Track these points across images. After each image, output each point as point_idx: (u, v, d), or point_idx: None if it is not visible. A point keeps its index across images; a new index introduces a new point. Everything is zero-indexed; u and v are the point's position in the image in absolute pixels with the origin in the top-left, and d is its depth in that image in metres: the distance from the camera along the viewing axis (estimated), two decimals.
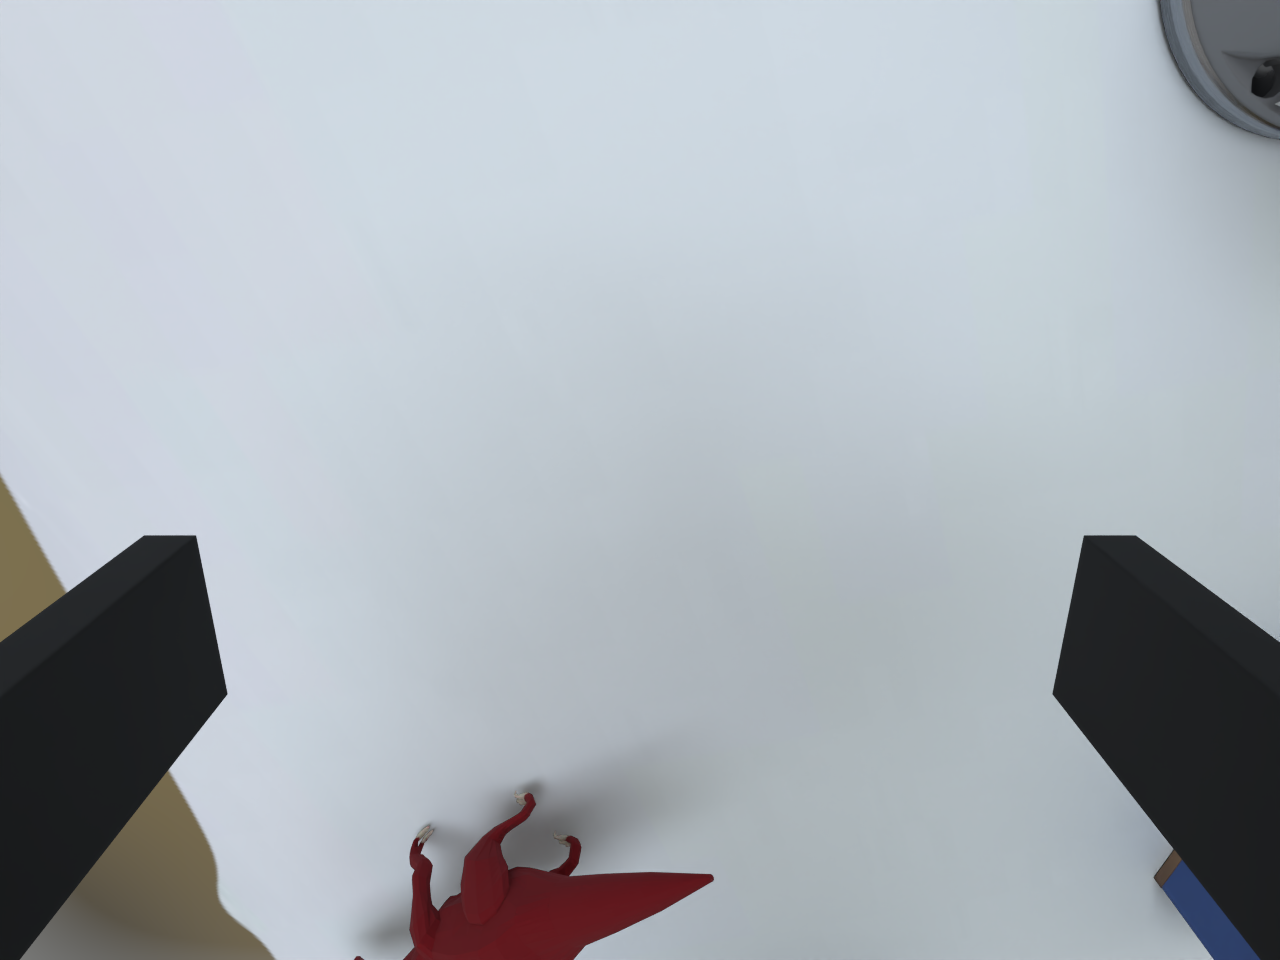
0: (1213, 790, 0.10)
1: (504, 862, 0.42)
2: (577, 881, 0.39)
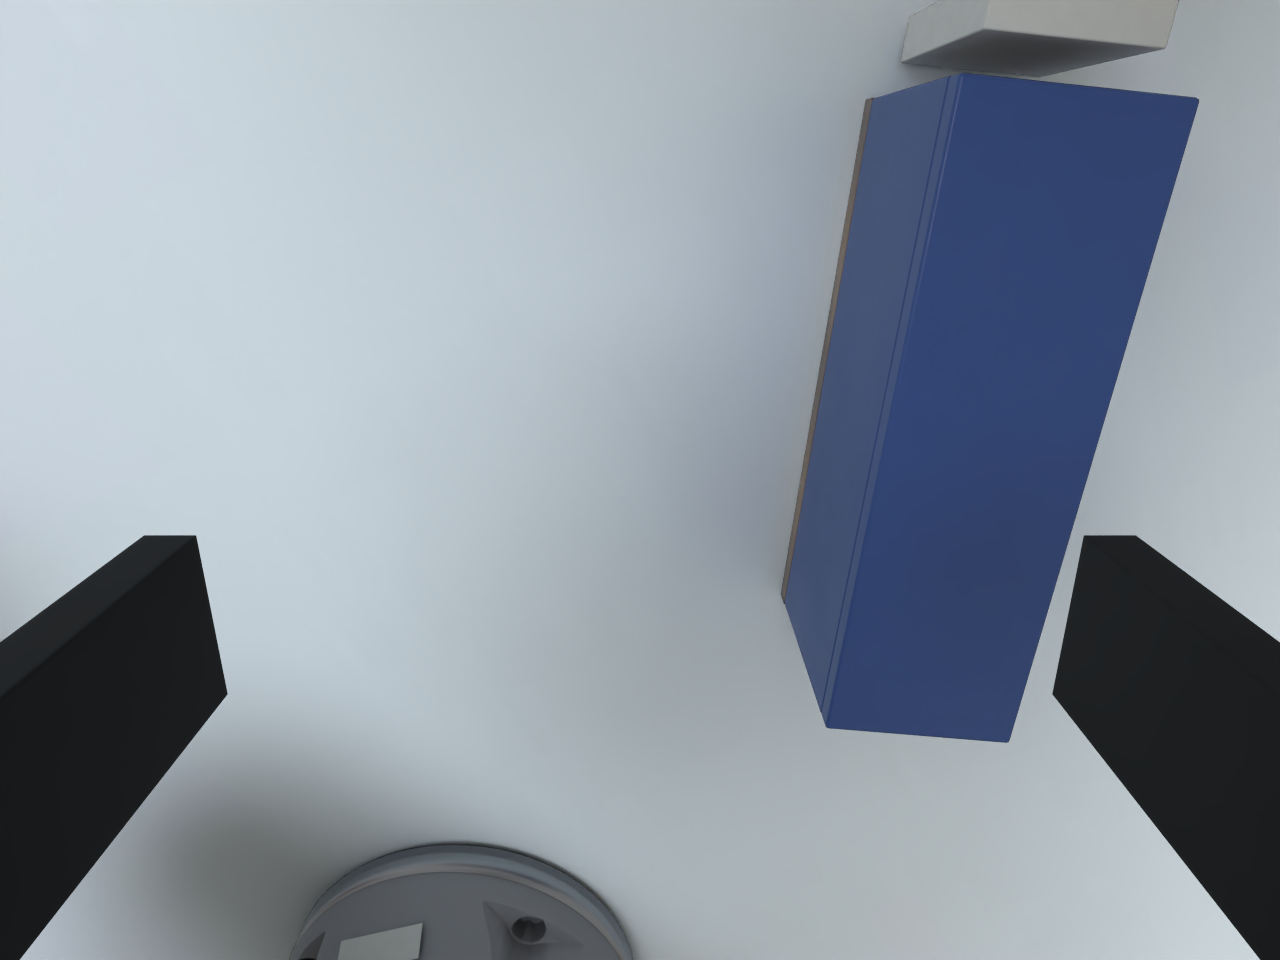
0: (1213, 790, 0.10)
1: None
2: None
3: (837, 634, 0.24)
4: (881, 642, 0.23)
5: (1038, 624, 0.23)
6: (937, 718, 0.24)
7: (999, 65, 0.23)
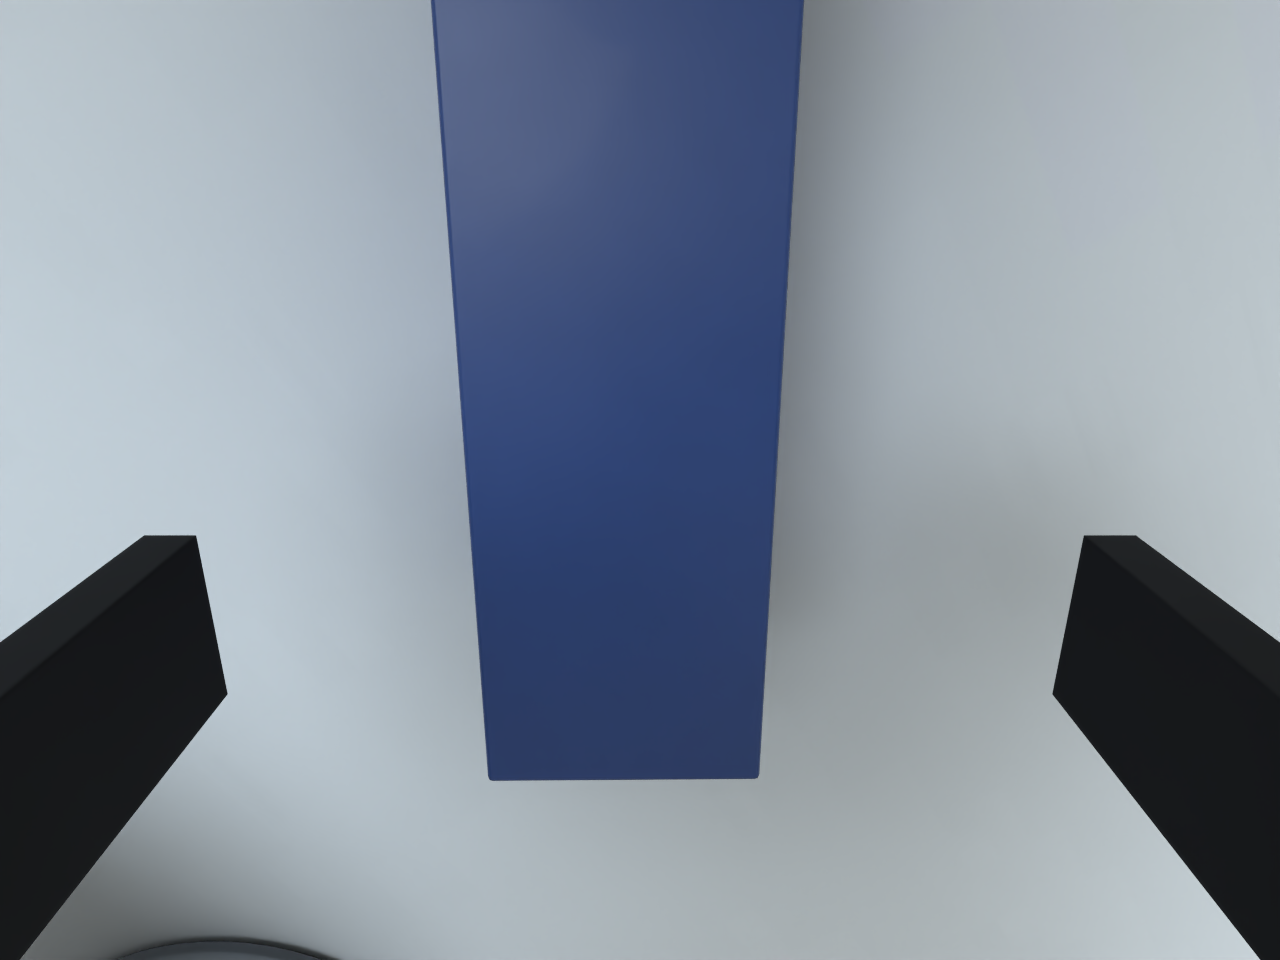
0: (1213, 790, 0.10)
1: None
2: None
3: None
4: (533, 651, 0.16)
5: (759, 603, 0.15)
6: (645, 753, 0.16)
7: None
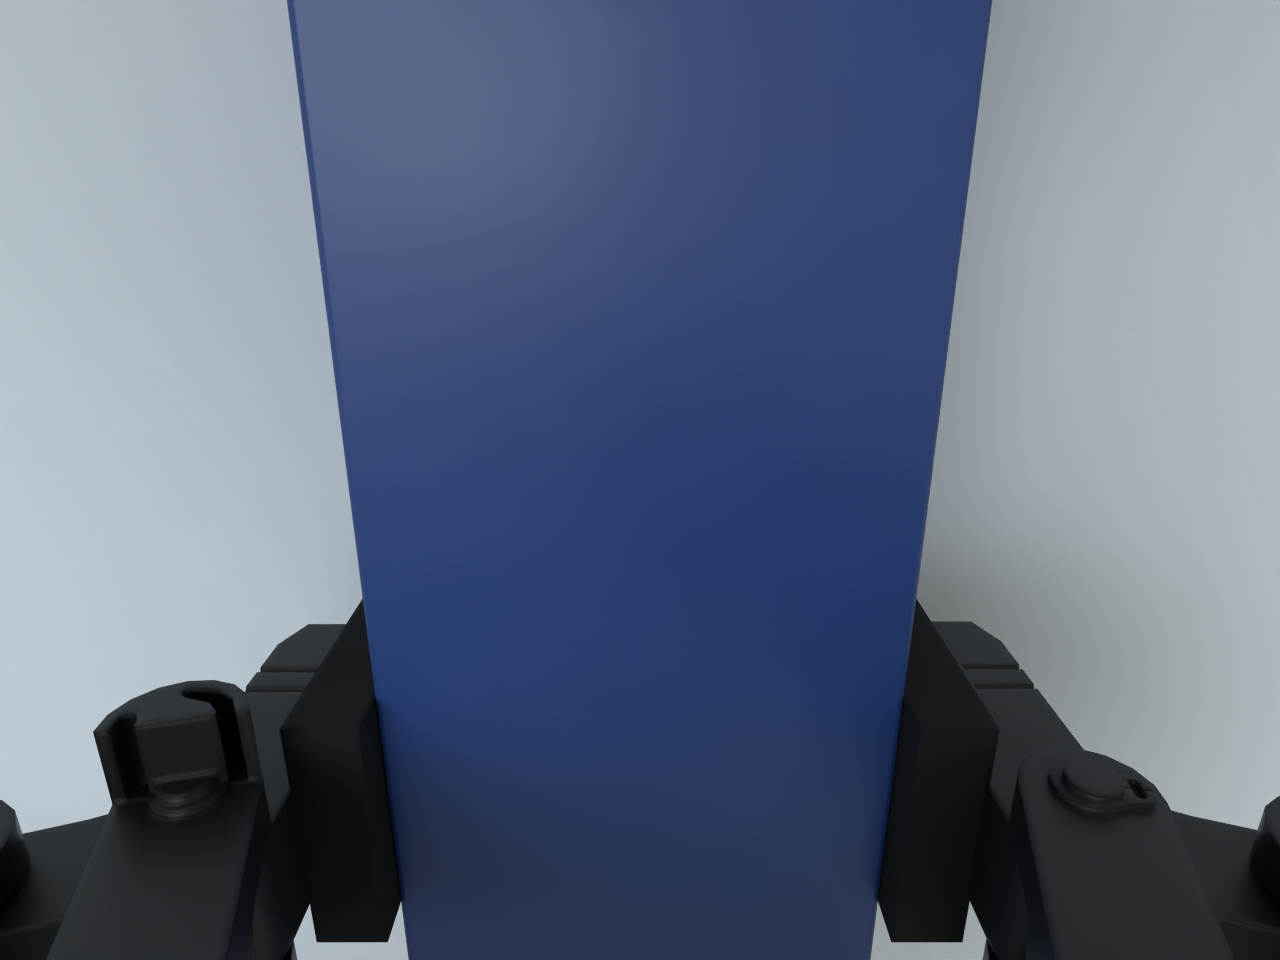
0: None
1: None
2: None
3: None
4: (494, 940, 0.10)
5: (866, 872, 0.09)
6: None
7: None
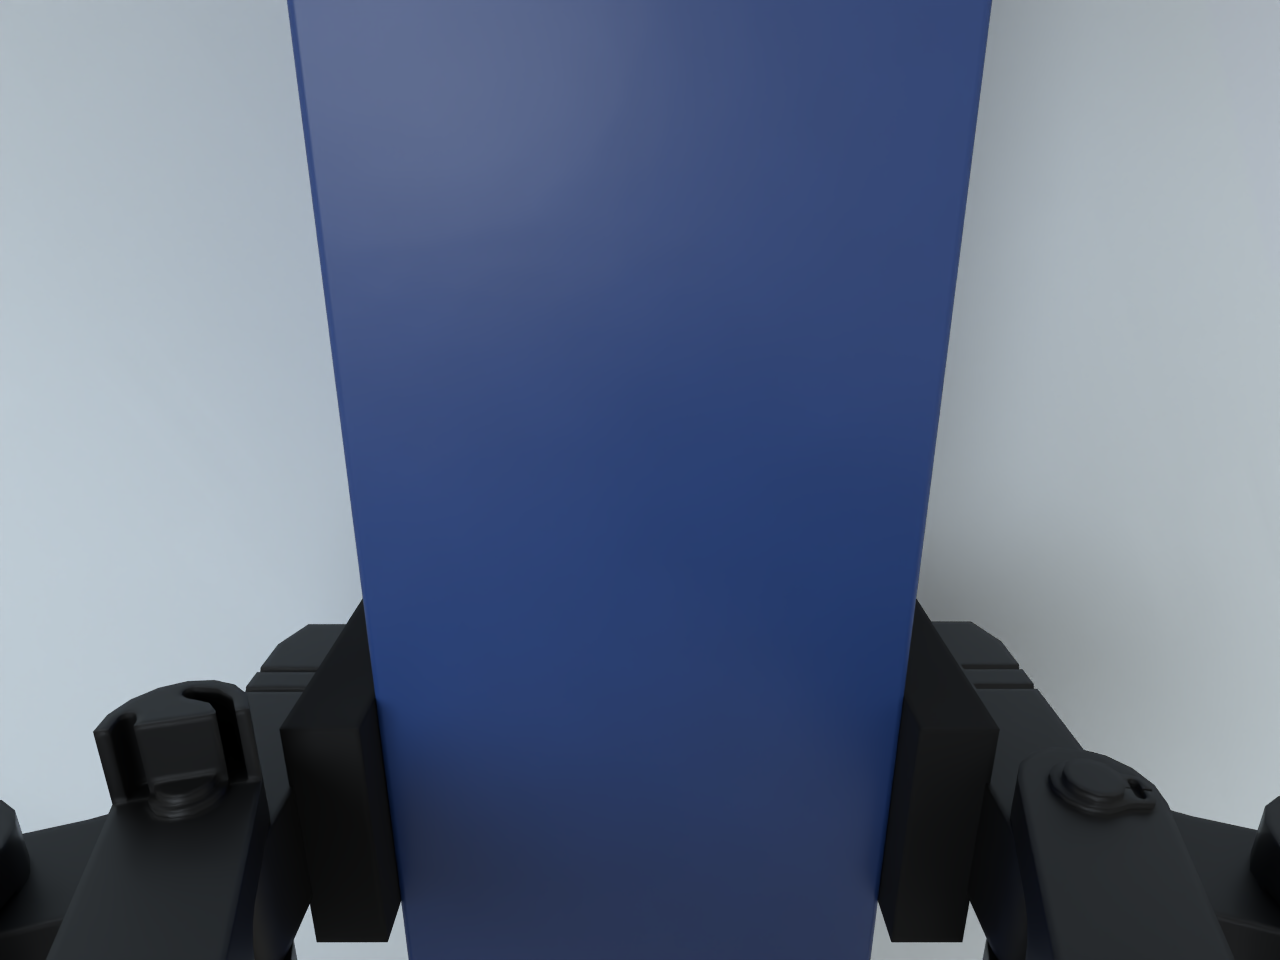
0: None
1: None
2: None
3: None
4: (494, 940, 0.10)
5: (866, 872, 0.09)
6: None
7: None
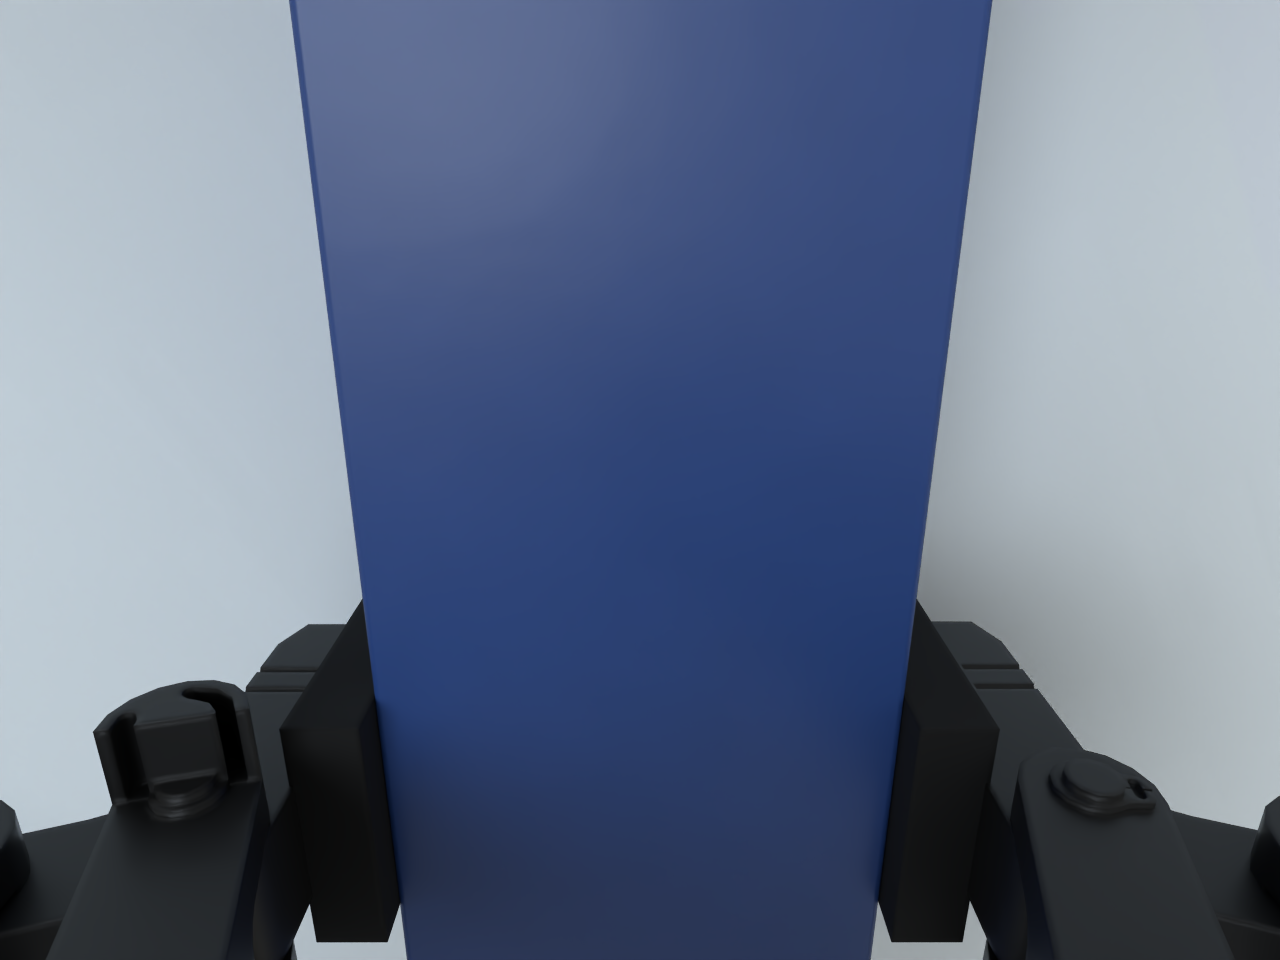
0: None
1: None
2: None
3: None
4: (493, 941, 0.10)
5: (867, 873, 0.09)
6: None
7: None
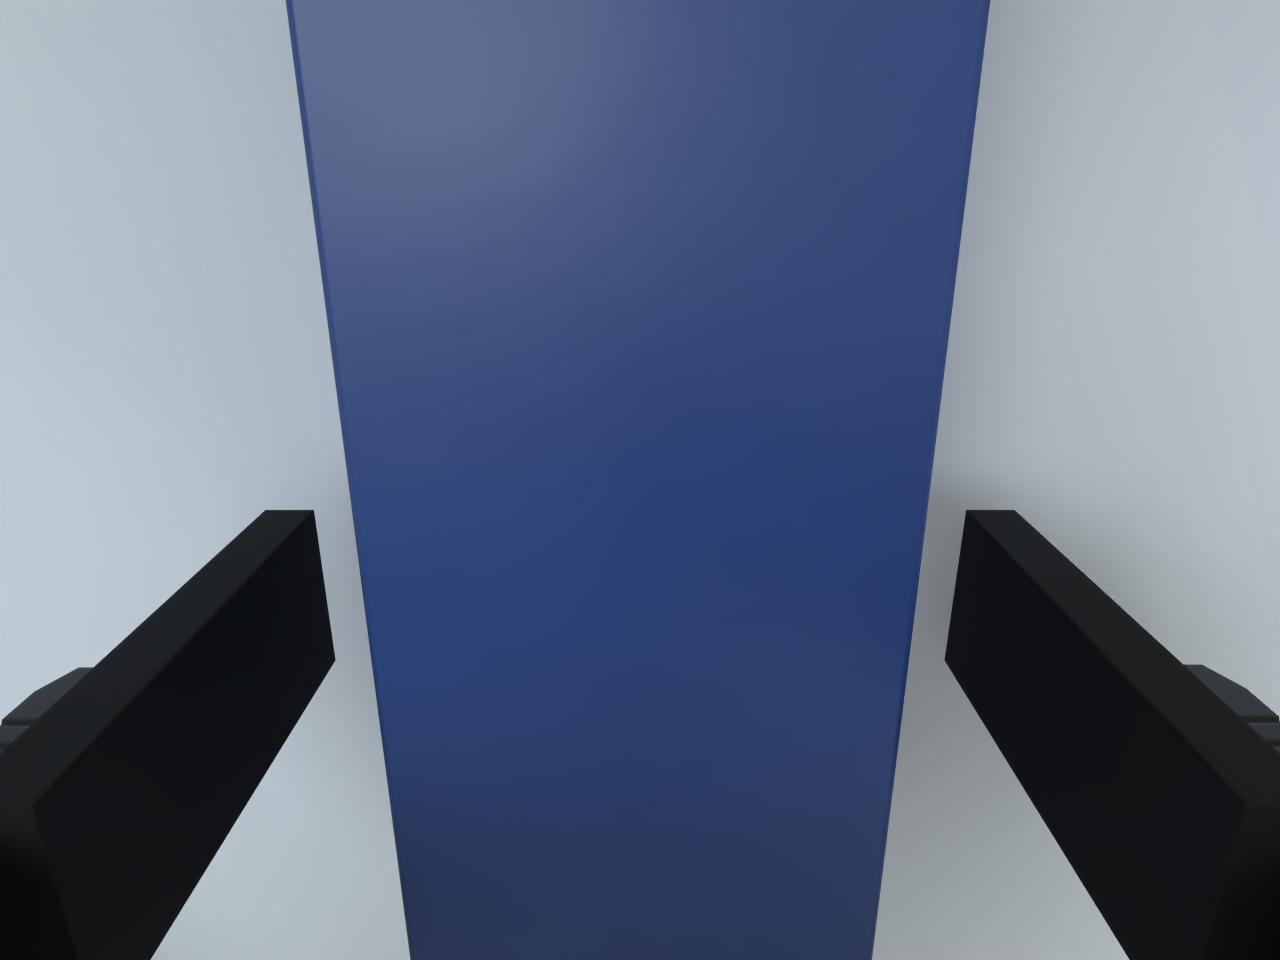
0: (1053, 736, 0.10)
1: None
2: None
3: None
4: (494, 923, 0.10)
5: (870, 853, 0.09)
6: None
7: None
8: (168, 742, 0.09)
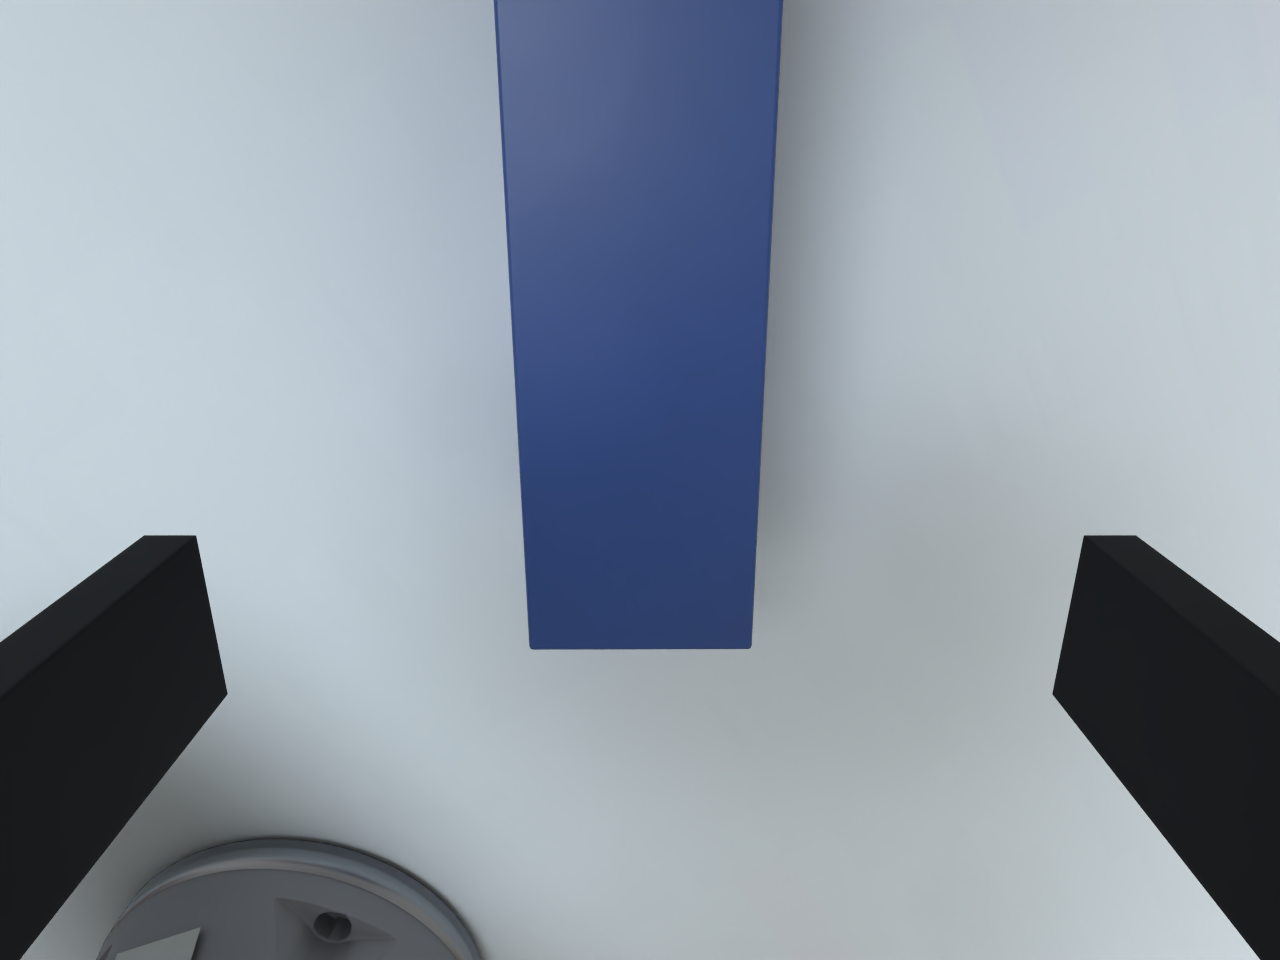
0: (1213, 790, 0.10)
1: None
2: None
3: None
4: (568, 538, 0.19)
5: (750, 498, 0.19)
6: (658, 626, 0.20)
7: None
8: None
